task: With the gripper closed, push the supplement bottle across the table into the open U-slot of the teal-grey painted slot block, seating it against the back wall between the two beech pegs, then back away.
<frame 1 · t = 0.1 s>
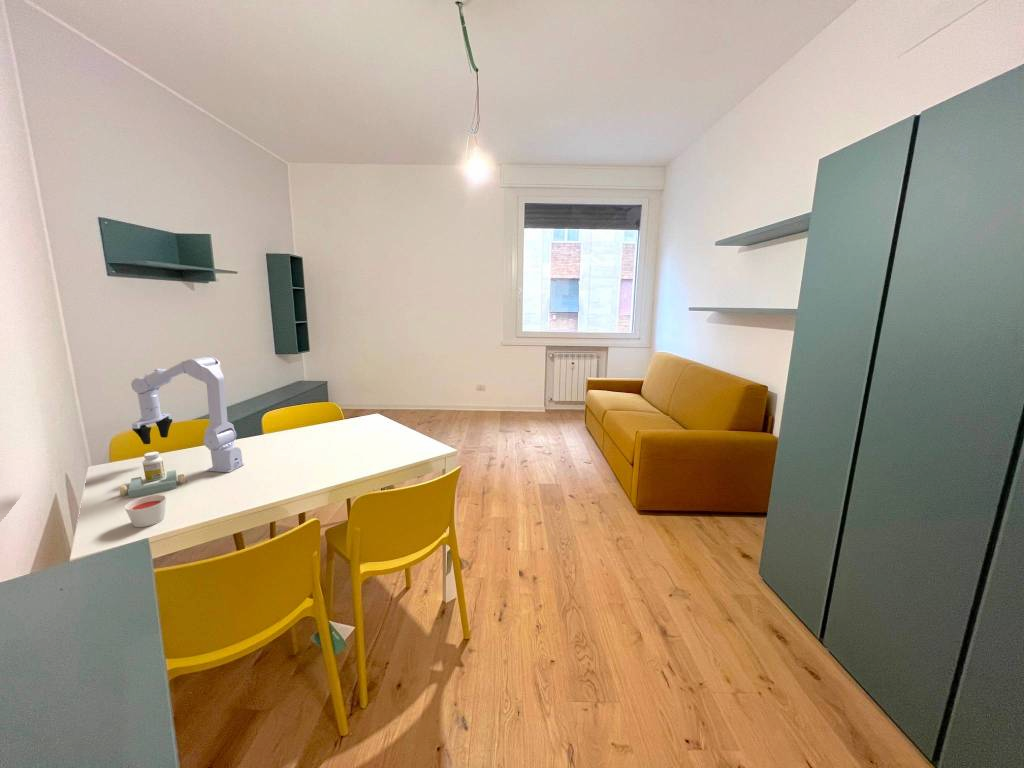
hand: (155, 440, 155), 10 cm above the table, fingers open, 7 cm apart
candle: (149, 522, 118), on the table
slot block: (154, 486, 139), on the table
supplement bottle: (155, 478, 145), on the table
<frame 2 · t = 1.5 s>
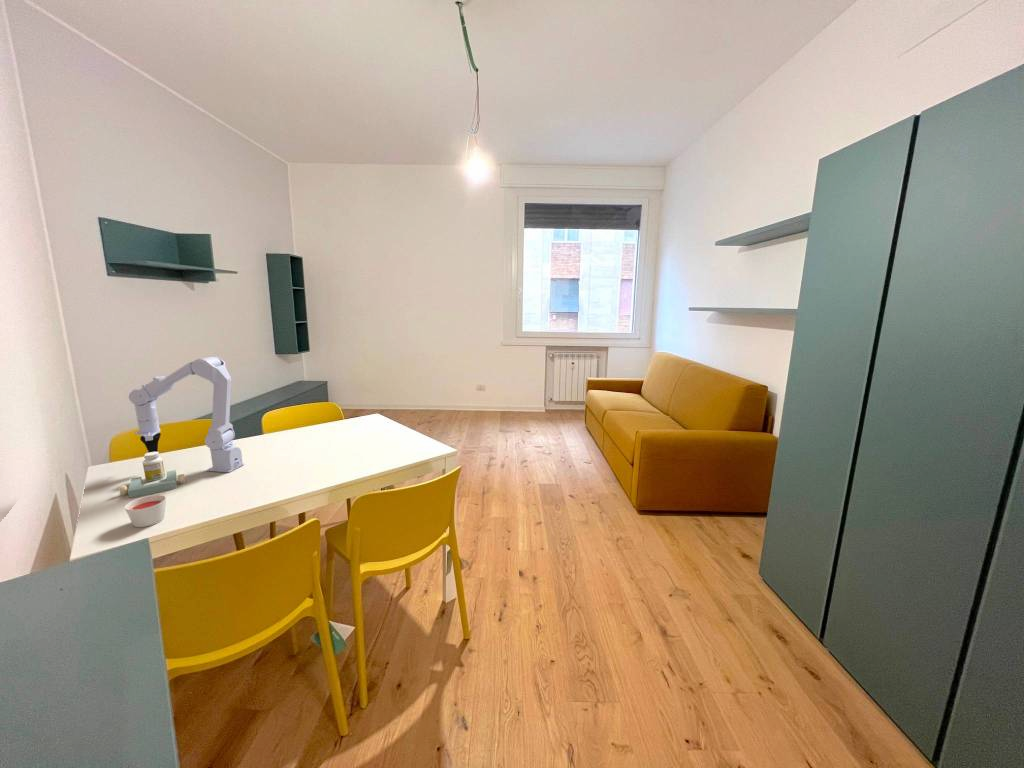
hand: (153, 453, 150), 7 cm above the table, fingers closed
nothing on the table moved.
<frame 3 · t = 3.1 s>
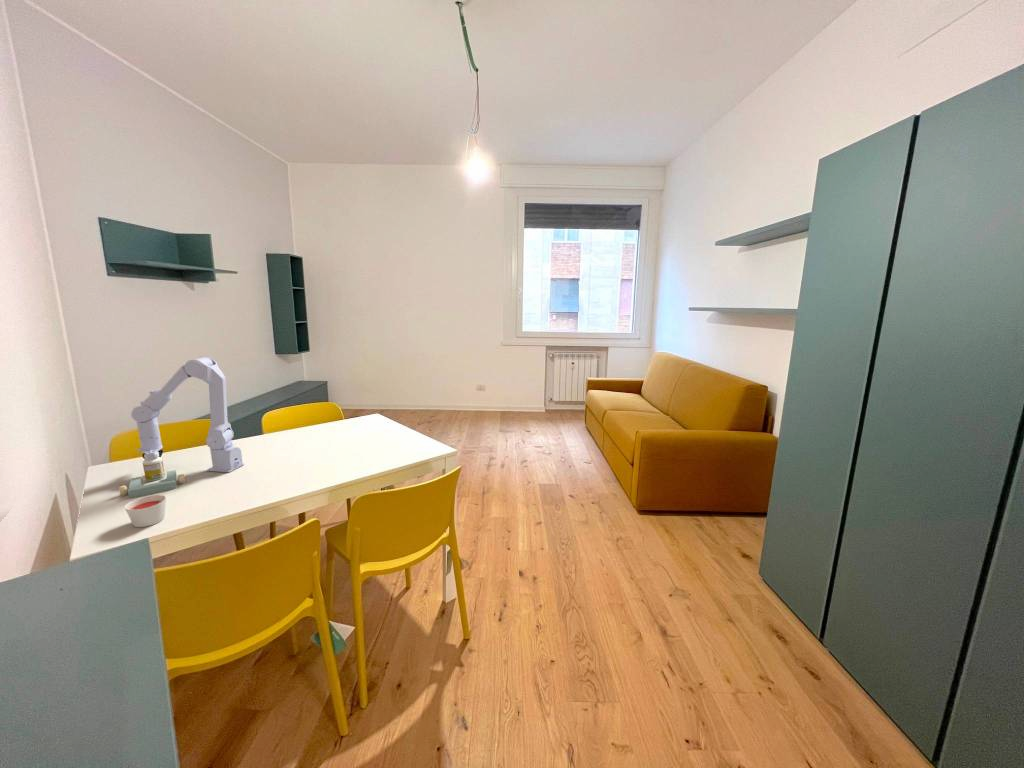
hand: (155, 470, 149), 1 cm above the table, fingers closed
supplement bottle: (155, 478, 145), on the table, touching gripper
everything else where it was.
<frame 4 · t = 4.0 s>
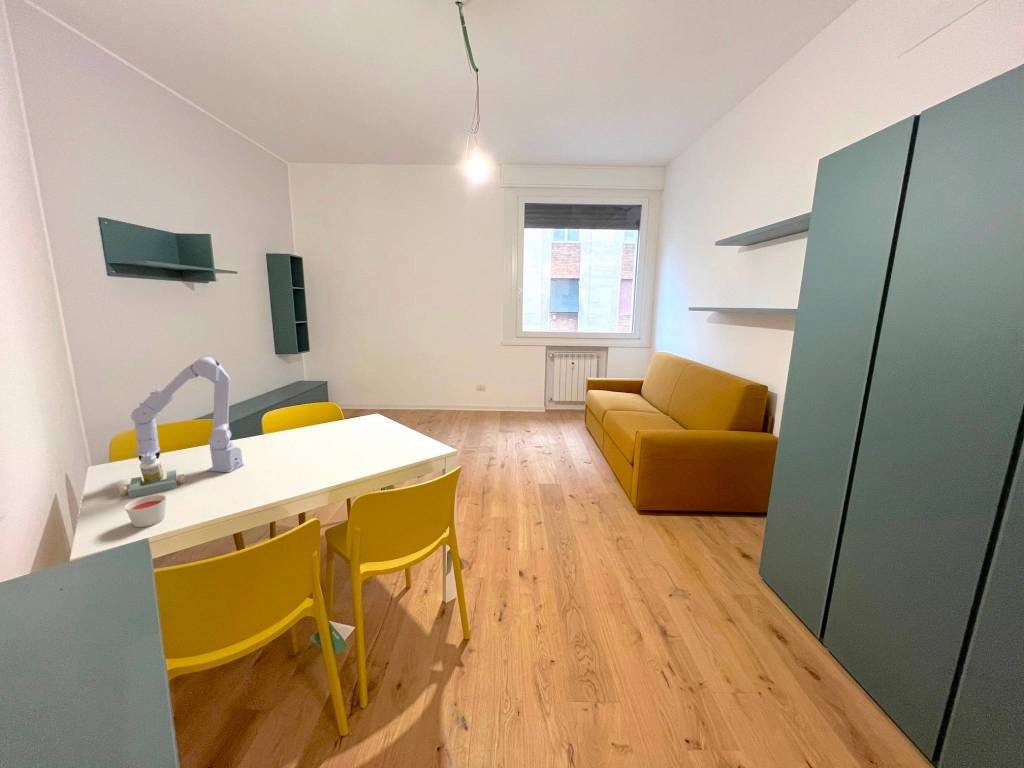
hand: (151, 473, 145), 2 cm above the table, fingers closed, pressing on supplement bottle
supplement bottle: (154, 479, 143), point 1 cm above the table, touching gripper
everything else where it was.
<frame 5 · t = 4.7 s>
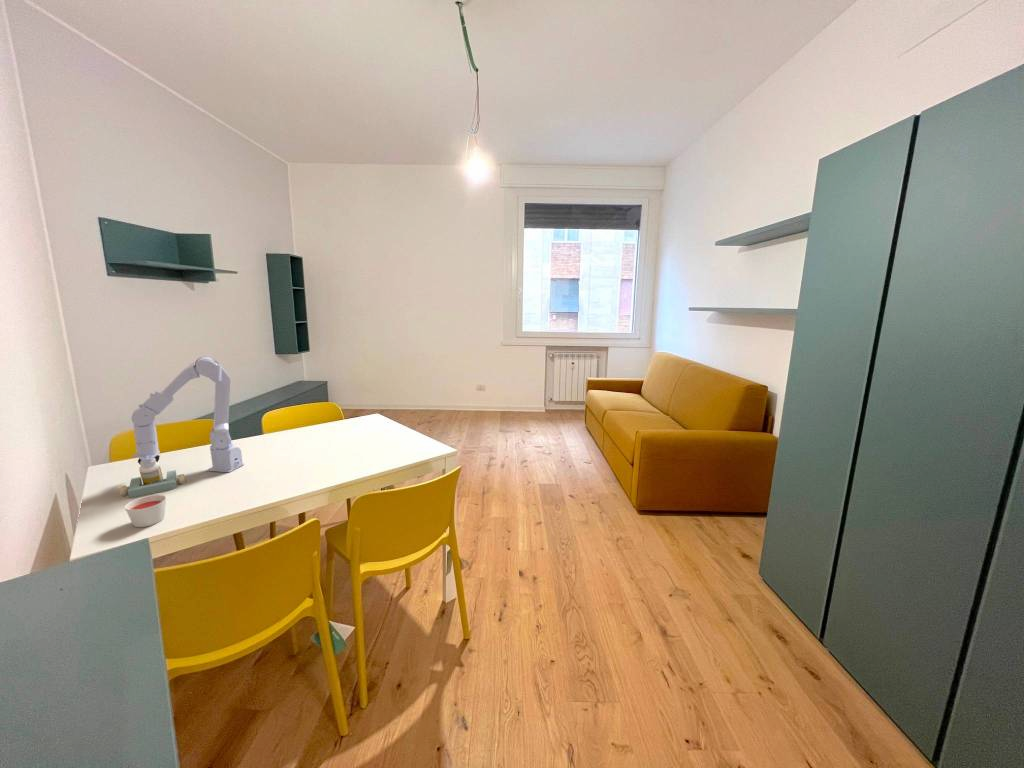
hand: (151, 476, 142), 2 cm above the table, fingers closed, pressing on supplement bottle
supplement bottle: (153, 482, 141), on the table, touching gripper
everything else where it was.
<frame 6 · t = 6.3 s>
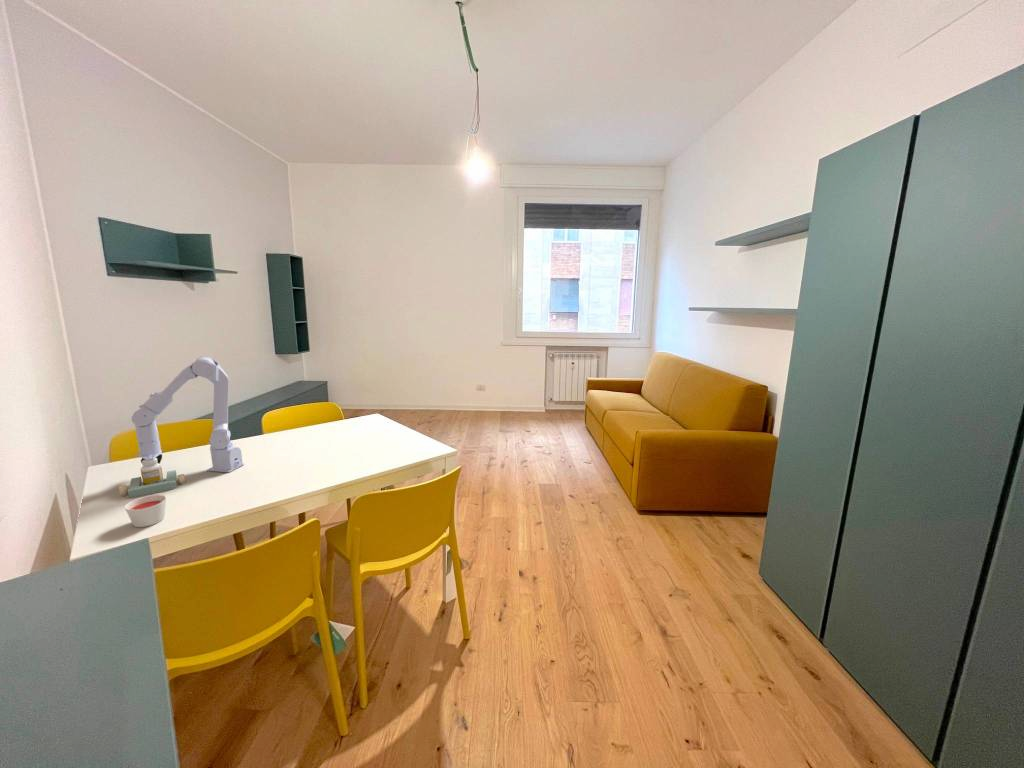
hand: (154, 475, 144), 1 cm above the table, fingers closed
supplement bottle: (154, 485, 140), on the table
everything else where it was.
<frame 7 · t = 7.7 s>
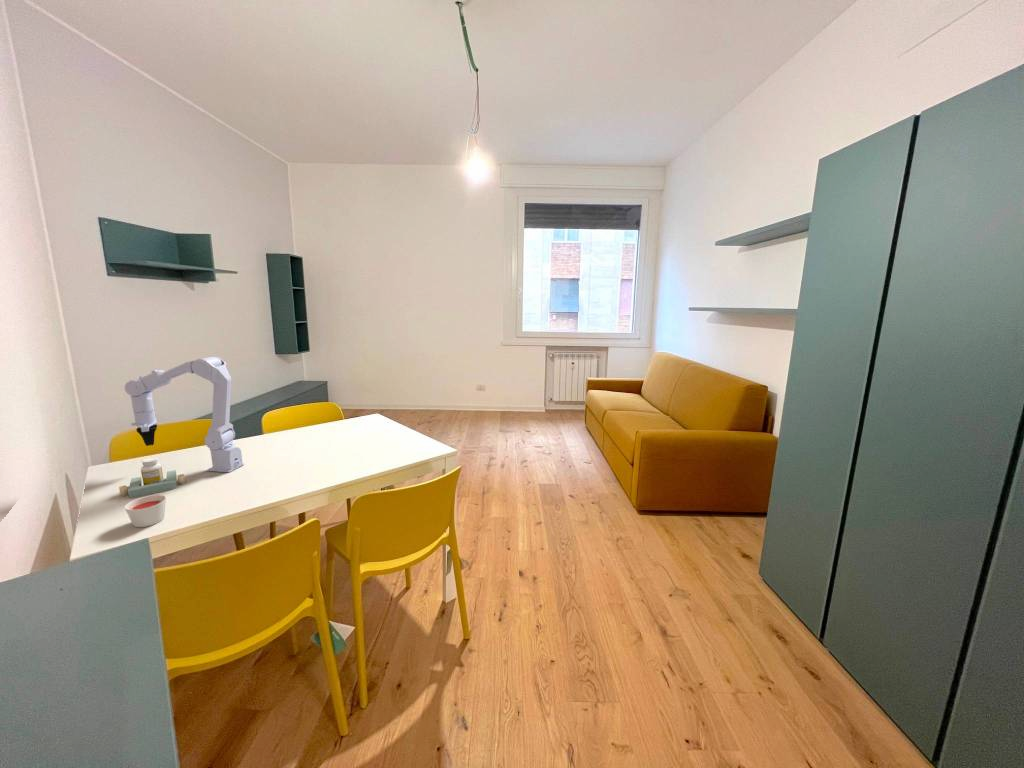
hand: (150, 444, 150), 10 cm above the table, fingers closed
nothing on the table moved.
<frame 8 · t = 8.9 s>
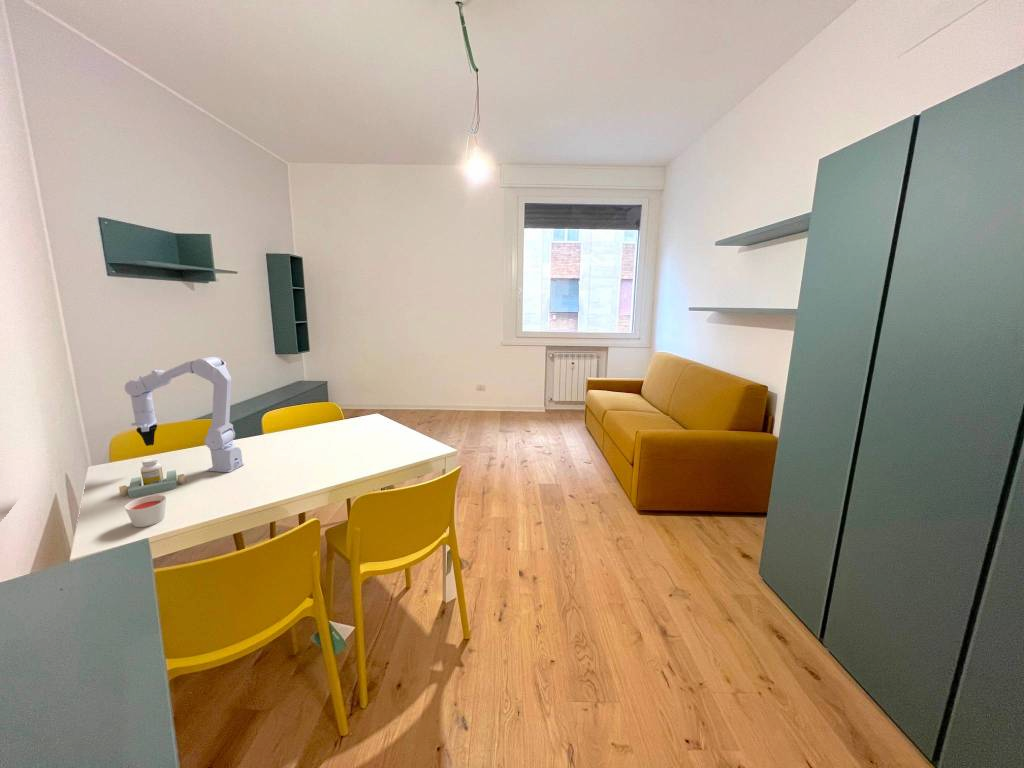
hand: (150, 444, 150), 10 cm above the table, fingers closed
nothing on the table moved.
at the end: supplement bottle 1.3 cm off-centre on the slot block, point 0.0 cm above the slot block's base; supplement bottle tilted 0°; supplement bottle moved 7.1 cm from its start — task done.
